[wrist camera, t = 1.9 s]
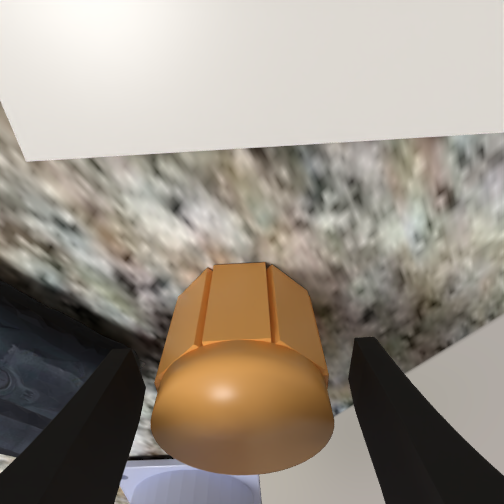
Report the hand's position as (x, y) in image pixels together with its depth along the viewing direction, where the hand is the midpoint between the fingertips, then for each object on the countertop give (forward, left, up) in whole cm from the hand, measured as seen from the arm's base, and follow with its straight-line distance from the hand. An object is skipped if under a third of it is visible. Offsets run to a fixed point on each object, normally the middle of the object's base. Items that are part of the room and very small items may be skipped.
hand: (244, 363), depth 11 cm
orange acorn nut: (0, 0, -2) cm, 2 cm away
